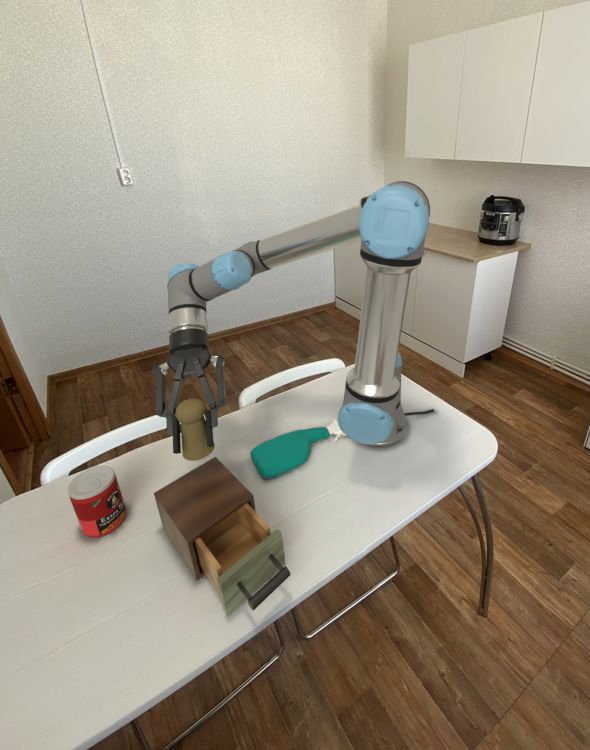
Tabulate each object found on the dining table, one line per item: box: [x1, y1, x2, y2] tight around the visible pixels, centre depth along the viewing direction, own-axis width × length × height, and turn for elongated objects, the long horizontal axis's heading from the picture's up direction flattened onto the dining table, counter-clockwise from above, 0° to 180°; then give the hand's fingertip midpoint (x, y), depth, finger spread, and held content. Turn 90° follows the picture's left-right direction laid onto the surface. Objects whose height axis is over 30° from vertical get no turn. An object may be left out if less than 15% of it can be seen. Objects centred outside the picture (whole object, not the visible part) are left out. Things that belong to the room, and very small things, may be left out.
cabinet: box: [153, 456, 257, 581], centre depth 74 cm, size 15×13×10 cm
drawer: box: [193, 503, 292, 617], centre depth 66 cm, size 18×11×8 cm, turn 47°
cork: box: [176, 398, 216, 462], centre depth 74 cm, size 6×6×11 cm
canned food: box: [67, 465, 127, 539], centre depth 76 cm, size 8×8×11 cm
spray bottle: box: [250, 418, 347, 480], centre depth 96 cm, size 3×11×24 cm
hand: (194, 449), depth 72 cm, fingers closed on cork, 5 cm apart
